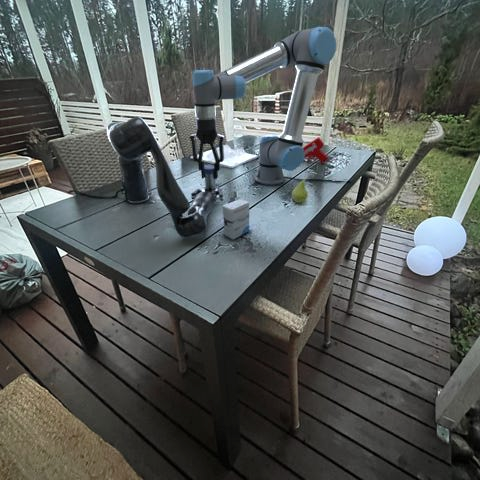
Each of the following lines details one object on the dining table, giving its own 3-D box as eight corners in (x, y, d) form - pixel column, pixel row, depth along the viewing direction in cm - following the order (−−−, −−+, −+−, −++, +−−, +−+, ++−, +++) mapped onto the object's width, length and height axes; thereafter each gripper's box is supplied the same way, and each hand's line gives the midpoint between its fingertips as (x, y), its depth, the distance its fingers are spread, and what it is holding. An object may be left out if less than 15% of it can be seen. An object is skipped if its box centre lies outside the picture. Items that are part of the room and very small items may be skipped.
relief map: (232, 168, 162) (231, 159, 159) (190, 158, 179) (189, 150, 177) (257, 157, 180) (257, 149, 177) (217, 149, 198) (217, 142, 195)
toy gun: (331, 157, 168) (319, 136, 164) (331, 159, 164) (318, 137, 160) (306, 172, 178) (294, 153, 174) (305, 174, 174) (292, 154, 170)
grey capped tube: (212, 206, 119) (210, 170, 110) (204, 204, 121) (201, 168, 112) (218, 202, 122) (216, 167, 113) (210, 200, 124) (208, 166, 115)
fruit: (288, 200, 123) (290, 174, 116) (302, 197, 125) (305, 172, 119) (296, 206, 118) (299, 179, 111) (310, 203, 120) (314, 177, 114)
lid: (210, 174, 110) (210, 170, 109) (200, 172, 113) (200, 168, 112) (218, 171, 114) (217, 166, 113) (208, 169, 116) (207, 164, 115)
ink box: (240, 226, 103) (240, 197, 97) (249, 231, 100) (250, 202, 94) (223, 234, 98) (222, 205, 92) (232, 240, 95) (232, 209, 89)
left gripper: (220, 196, 103) (227, 180, 117) (184, 194, 105) (195, 179, 119) (221, 214, 107) (228, 196, 121) (186, 212, 109) (197, 195, 123)
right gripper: (231, 116, 104) (232, 175, 117) (185, 116, 106) (191, 173, 119) (227, 120, 98) (229, 181, 111) (179, 119, 100) (186, 179, 113)
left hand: (212, 188), depth 120 cm, fingers closed on grey capped tube, 4 cm apart
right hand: (209, 177), depth 115 cm, fingers closed on lid, 5 cm apart
